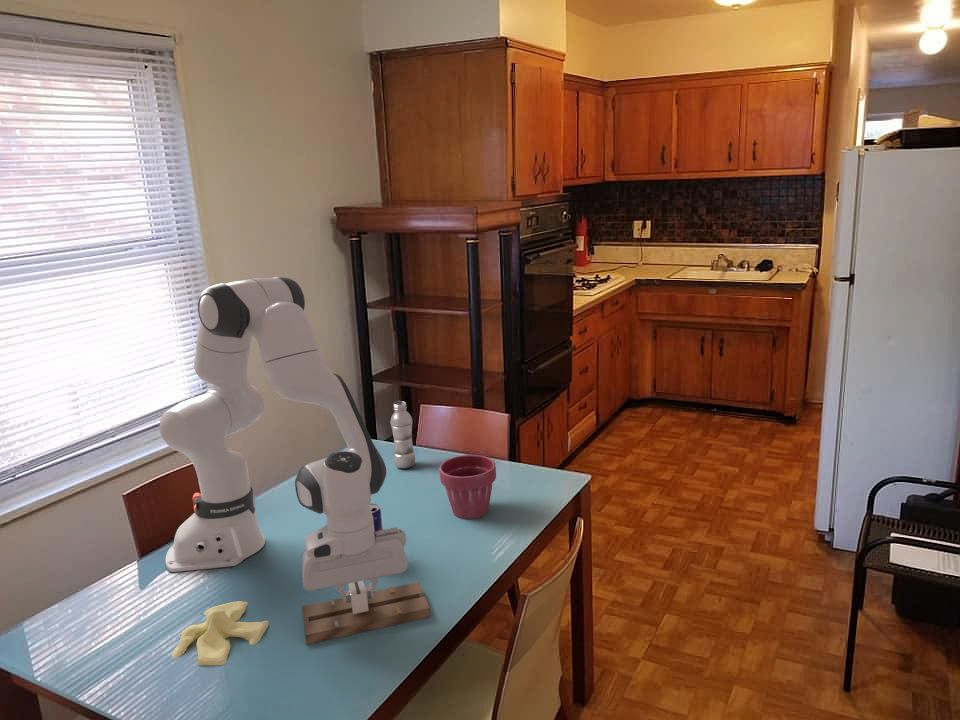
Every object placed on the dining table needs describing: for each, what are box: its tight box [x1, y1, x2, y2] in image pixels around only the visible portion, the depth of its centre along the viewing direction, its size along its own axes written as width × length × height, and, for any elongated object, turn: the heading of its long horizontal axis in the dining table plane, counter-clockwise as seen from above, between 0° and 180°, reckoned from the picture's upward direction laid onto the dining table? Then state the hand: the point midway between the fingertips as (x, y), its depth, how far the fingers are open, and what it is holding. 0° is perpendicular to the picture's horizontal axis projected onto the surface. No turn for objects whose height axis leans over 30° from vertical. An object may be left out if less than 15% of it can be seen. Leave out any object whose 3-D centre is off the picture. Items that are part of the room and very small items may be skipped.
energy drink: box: [370, 503, 384, 531], centre depth 166 cm, size 5×5×12 cm
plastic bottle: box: [390, 400, 416, 469], centre depth 215 cm, size 6×7×20 cm
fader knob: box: [347, 580, 369, 614], centre depth 143 cm, size 3×5×6 cm, turn 17°
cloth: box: [171, 600, 270, 666], centre depth 140 cm, size 22×19×6 cm
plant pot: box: [439, 454, 497, 520], centre depth 185 cm, size 14×14×13 cm
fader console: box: [301, 581, 431, 645], centre depth 144 cm, size 24×10×2 cm, turn 107°
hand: (358, 598), depth 143 cm, fingers closed on fader knob, 3 cm apart
